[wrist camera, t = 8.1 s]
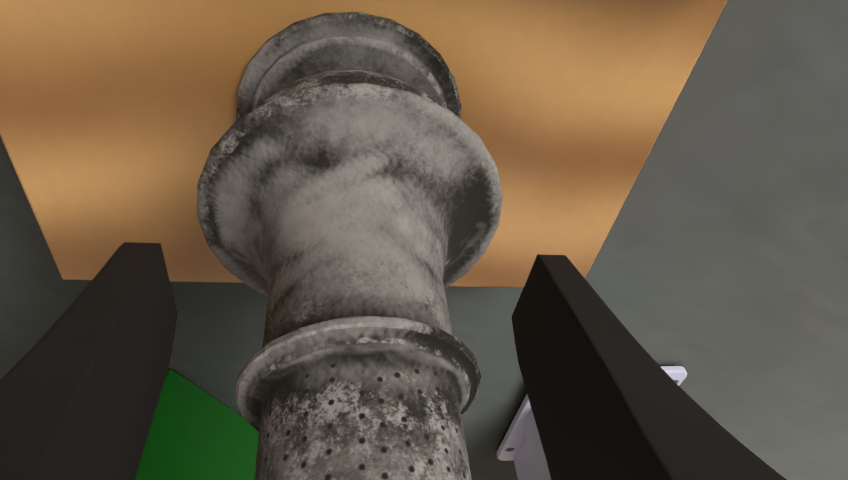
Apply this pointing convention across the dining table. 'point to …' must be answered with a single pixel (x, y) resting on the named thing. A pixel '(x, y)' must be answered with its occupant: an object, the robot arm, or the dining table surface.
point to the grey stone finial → (352, 249)
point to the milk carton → (196, 437)
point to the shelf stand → (217, 106)
